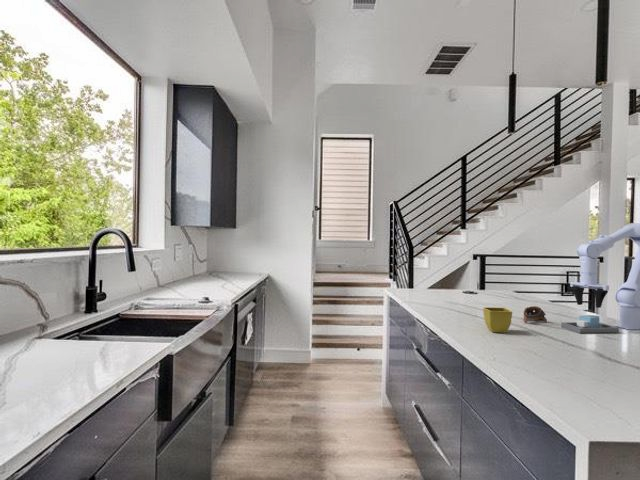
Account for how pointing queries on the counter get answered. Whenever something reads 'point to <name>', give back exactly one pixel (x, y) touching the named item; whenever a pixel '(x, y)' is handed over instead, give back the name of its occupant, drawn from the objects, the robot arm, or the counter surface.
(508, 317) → the flower pot
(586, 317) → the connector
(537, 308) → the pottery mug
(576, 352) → the counter surface
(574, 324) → the tray
